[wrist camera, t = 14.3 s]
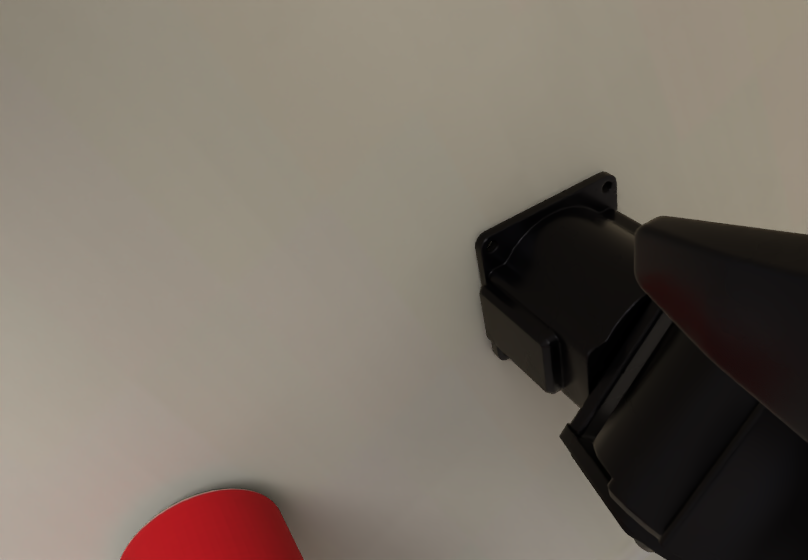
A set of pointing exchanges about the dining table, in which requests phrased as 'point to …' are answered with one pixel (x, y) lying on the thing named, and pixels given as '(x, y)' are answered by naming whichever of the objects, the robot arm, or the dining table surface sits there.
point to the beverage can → (216, 530)
